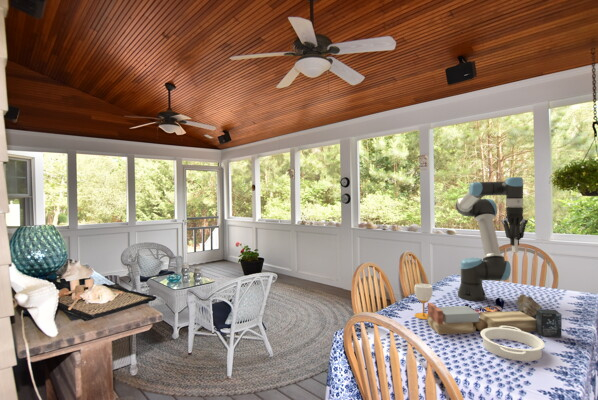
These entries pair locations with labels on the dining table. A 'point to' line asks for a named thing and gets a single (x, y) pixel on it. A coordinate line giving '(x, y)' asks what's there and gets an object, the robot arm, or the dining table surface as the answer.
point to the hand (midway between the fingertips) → (514, 251)
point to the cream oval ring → (515, 336)
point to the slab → (459, 314)
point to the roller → (480, 324)
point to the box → (548, 323)
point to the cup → (423, 297)
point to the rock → (527, 305)
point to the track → (492, 319)
